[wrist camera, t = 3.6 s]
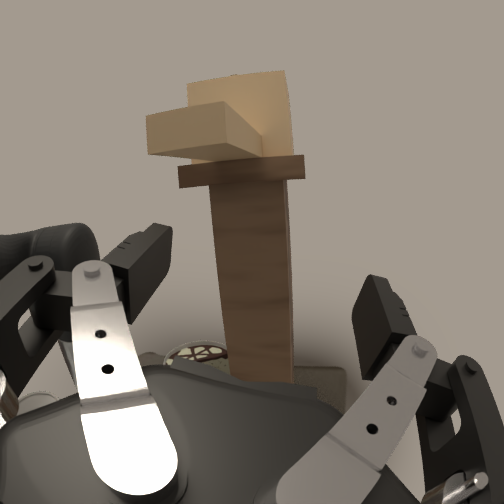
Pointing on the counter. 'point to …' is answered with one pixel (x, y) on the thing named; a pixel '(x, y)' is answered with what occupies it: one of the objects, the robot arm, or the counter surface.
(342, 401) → the counter surface
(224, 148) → the wooden mallet
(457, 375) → the robot arm
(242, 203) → the walnut stand
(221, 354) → the food container
